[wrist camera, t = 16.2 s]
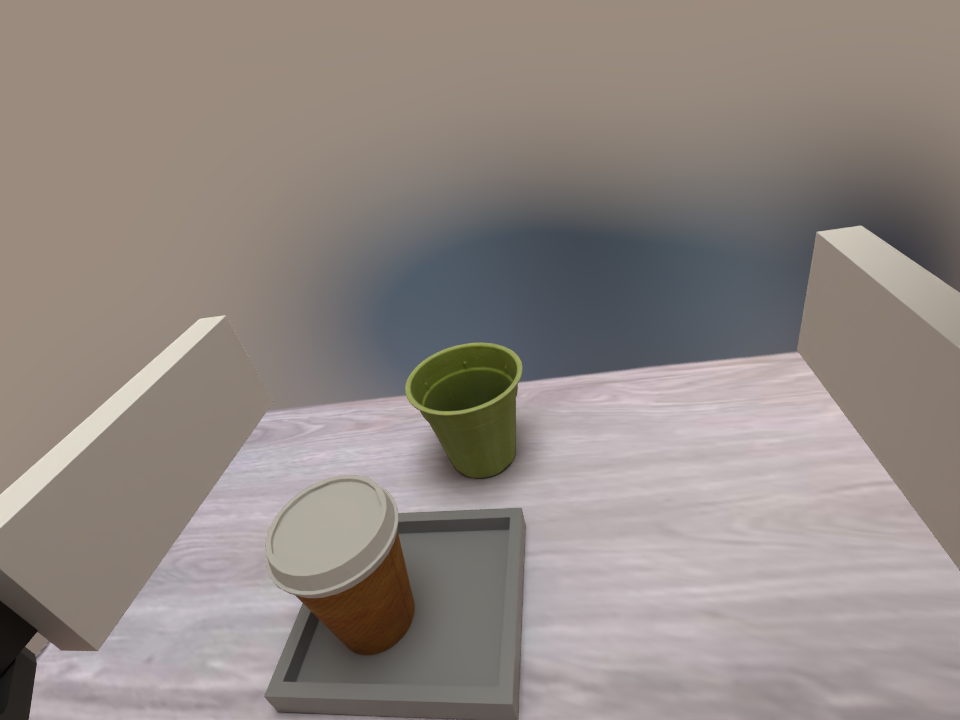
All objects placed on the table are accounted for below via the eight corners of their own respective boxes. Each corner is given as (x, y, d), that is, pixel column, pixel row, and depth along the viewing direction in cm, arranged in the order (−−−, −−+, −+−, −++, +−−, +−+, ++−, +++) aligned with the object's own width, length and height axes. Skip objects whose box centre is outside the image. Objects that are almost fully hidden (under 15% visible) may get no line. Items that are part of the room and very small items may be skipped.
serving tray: (525, 525, 47) (521, 507, 46) (518, 721, 34) (512, 704, 33) (347, 532, 51) (339, 515, 49) (278, 712, 38) (264, 696, 36)
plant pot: (418, 448, 59) (391, 370, 53) (507, 408, 62) (490, 330, 56) (454, 516, 50) (426, 430, 44) (557, 466, 53) (544, 379, 47)
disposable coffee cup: (300, 625, 42) (236, 533, 36) (389, 546, 47) (347, 453, 41) (362, 707, 36) (298, 613, 30) (457, 606, 41) (420, 507, 35)
